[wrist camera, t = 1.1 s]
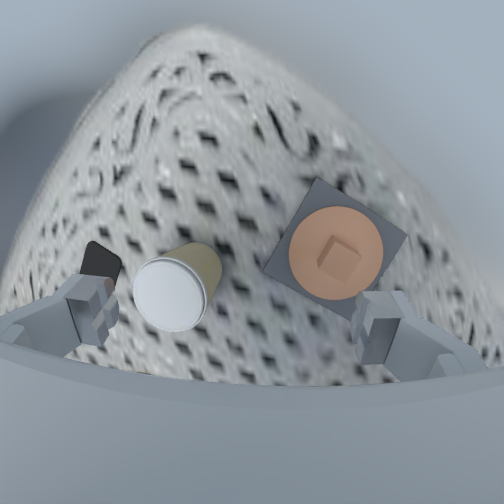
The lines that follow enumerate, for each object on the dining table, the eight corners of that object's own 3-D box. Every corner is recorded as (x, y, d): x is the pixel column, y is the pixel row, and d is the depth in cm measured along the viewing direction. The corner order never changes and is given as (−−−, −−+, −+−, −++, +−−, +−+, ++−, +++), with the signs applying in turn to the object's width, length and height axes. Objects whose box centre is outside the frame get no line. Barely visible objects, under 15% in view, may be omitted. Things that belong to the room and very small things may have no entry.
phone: (71, 307, 52) (88, 238, 48) (74, 305, 53) (91, 237, 49) (101, 328, 52) (122, 260, 48) (103, 326, 53) (124, 259, 49)
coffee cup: (172, 296, 48) (138, 331, 37) (164, 237, 46) (124, 259, 35) (230, 297, 47) (209, 337, 36) (225, 235, 45) (200, 258, 33)
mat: (406, 234, 41) (407, 234, 40) (350, 319, 45) (350, 321, 45) (316, 177, 41) (316, 177, 40) (262, 271, 45) (262, 272, 45)
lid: (398, 237, 41) (409, 244, 36) (349, 312, 44) (353, 328, 40) (319, 187, 41) (321, 189, 36) (271, 269, 44) (268, 281, 40)
